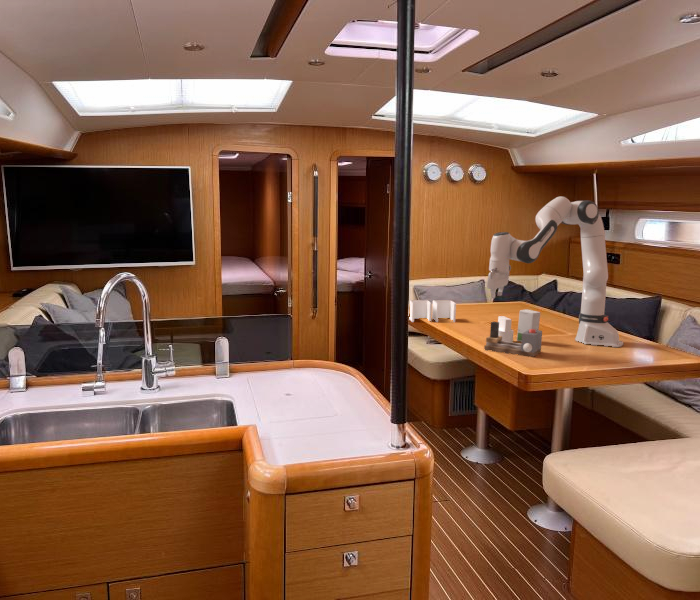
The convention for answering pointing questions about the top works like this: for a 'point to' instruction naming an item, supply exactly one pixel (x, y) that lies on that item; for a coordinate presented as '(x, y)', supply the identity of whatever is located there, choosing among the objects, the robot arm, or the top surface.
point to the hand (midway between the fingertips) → (496, 296)
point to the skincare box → (527, 322)
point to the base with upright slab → (505, 329)
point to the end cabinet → (531, 341)
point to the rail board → (508, 348)
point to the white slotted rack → (432, 309)
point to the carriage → (494, 333)
